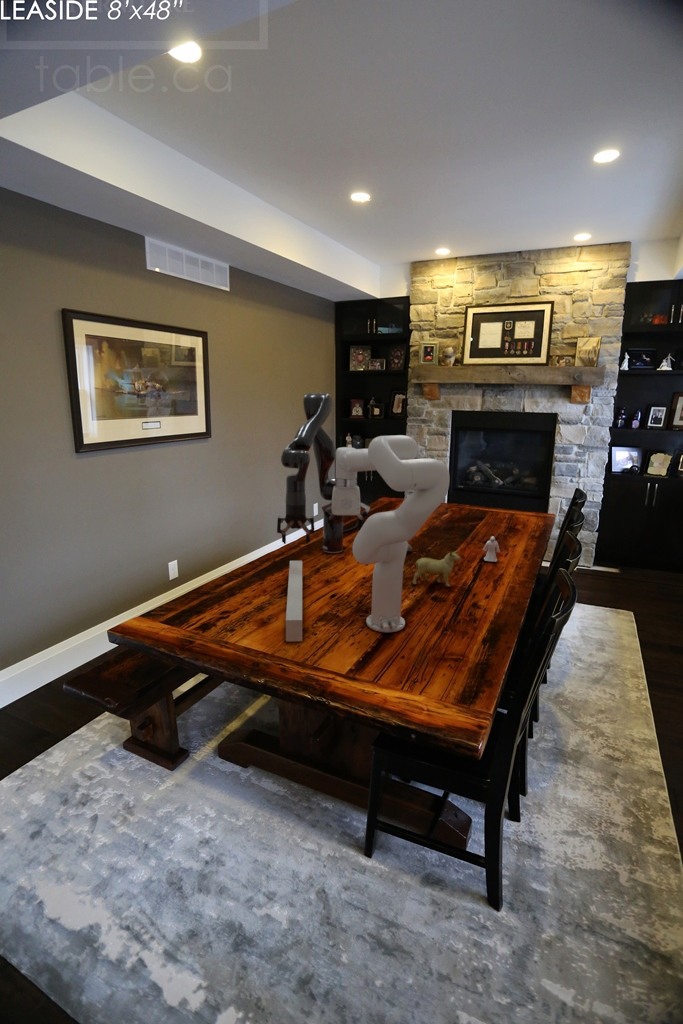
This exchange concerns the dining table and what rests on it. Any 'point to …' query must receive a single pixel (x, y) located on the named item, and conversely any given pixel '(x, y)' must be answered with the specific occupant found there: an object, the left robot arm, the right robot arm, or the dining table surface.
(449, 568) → the toy
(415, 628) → the dining table surface
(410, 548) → the seashell
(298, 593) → the bar
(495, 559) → the figurine
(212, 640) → the dining table surface
